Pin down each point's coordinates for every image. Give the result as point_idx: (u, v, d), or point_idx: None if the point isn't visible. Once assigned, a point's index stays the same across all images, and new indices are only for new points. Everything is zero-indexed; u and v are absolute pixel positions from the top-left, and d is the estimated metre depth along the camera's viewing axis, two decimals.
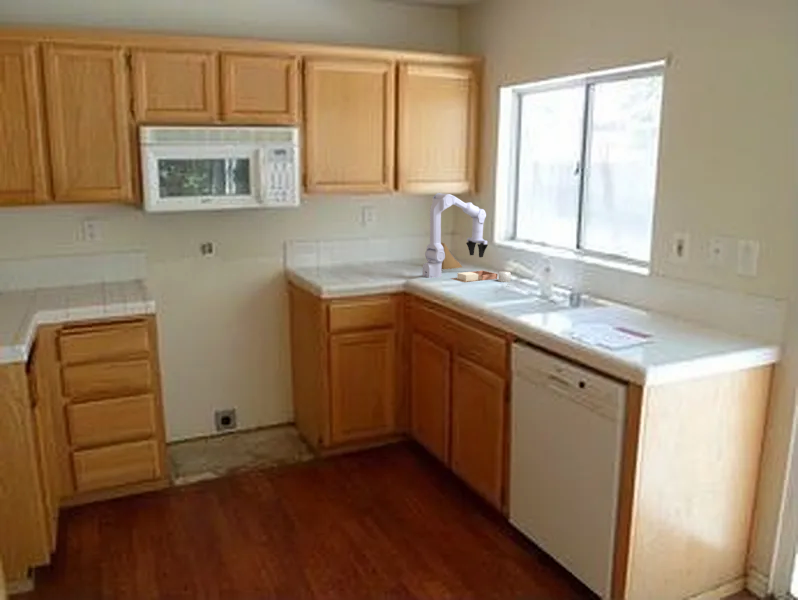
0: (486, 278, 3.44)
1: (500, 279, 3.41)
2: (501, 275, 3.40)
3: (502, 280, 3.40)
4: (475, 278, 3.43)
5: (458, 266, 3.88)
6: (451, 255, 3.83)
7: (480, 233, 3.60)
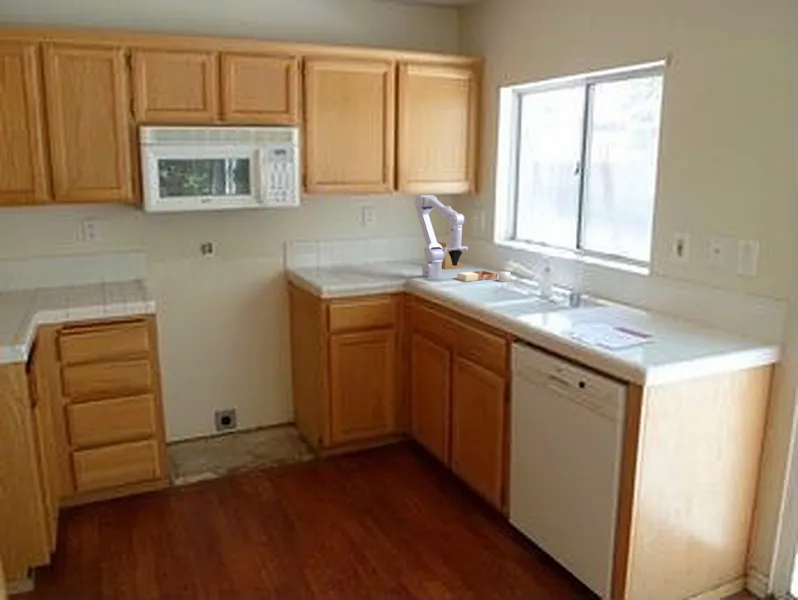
0: (486, 278, 3.44)
1: (500, 279, 3.41)
2: (501, 275, 3.40)
3: (502, 280, 3.40)
4: (475, 278, 3.43)
5: (459, 266, 3.88)
6: None
7: (450, 240, 3.34)
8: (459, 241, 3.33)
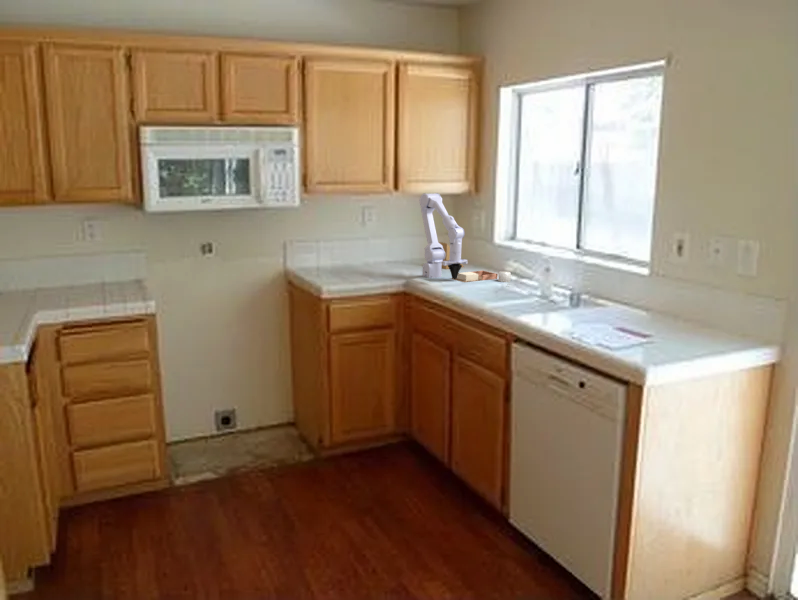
0: (486, 278, 3.44)
1: (500, 279, 3.41)
2: (501, 275, 3.40)
3: (502, 280, 3.40)
4: (475, 278, 3.43)
5: None
6: None
7: (450, 254, 3.36)
8: (459, 255, 3.35)
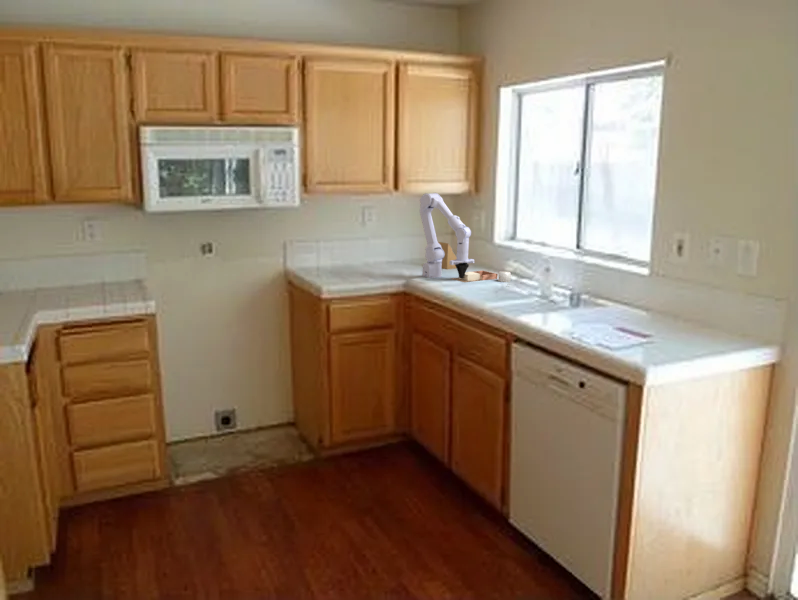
0: (486, 278, 3.44)
1: (500, 279, 3.41)
2: (501, 275, 3.40)
3: (502, 280, 3.40)
4: (476, 278, 3.43)
5: None
6: (454, 255, 3.84)
7: (457, 253, 3.38)
8: (466, 254, 3.37)
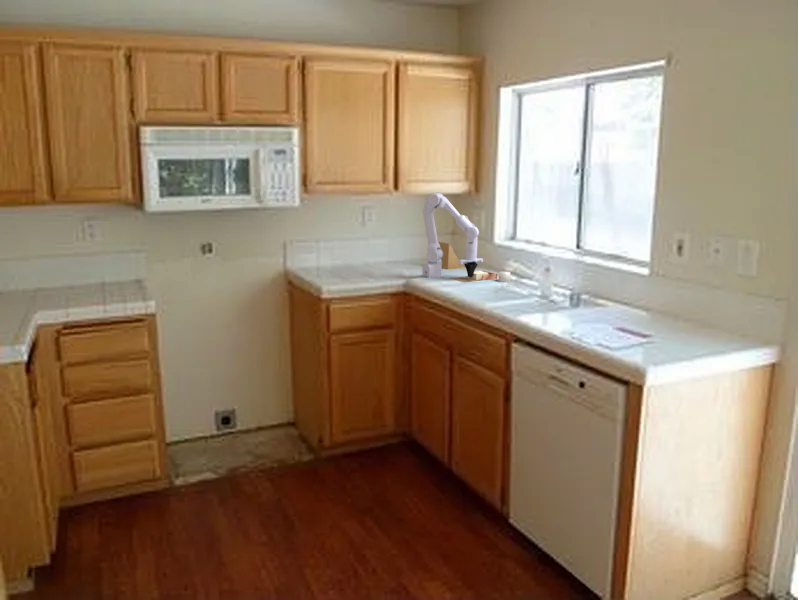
0: (486, 278, 3.44)
1: (500, 279, 3.41)
2: (501, 275, 3.40)
3: (502, 280, 3.40)
4: None
5: (461, 266, 3.89)
6: (455, 255, 3.84)
7: (466, 252, 3.41)
8: (475, 253, 3.40)
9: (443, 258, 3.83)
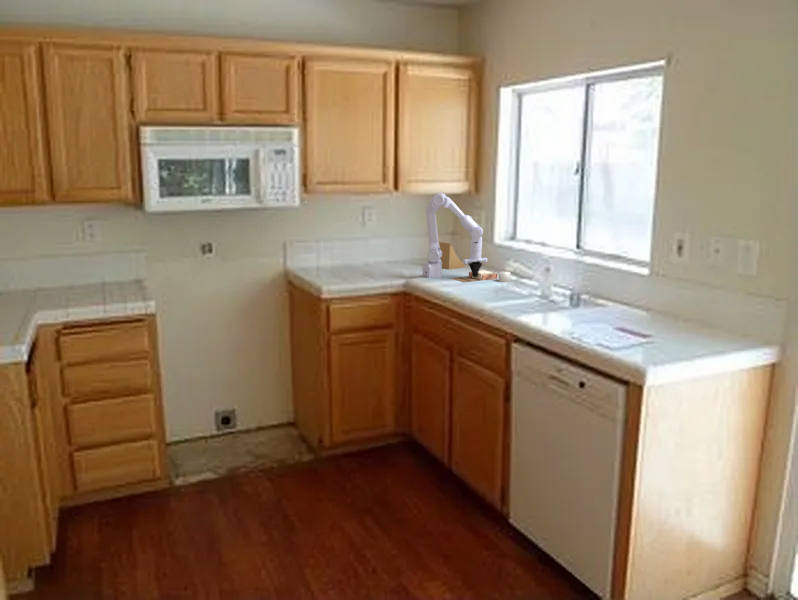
0: (486, 278, 3.44)
1: (500, 279, 3.41)
2: (501, 275, 3.40)
3: (502, 280, 3.40)
4: None
5: (462, 266, 3.89)
6: (456, 255, 3.84)
7: (471, 252, 3.43)
8: (479, 253, 3.42)
9: (444, 258, 3.83)
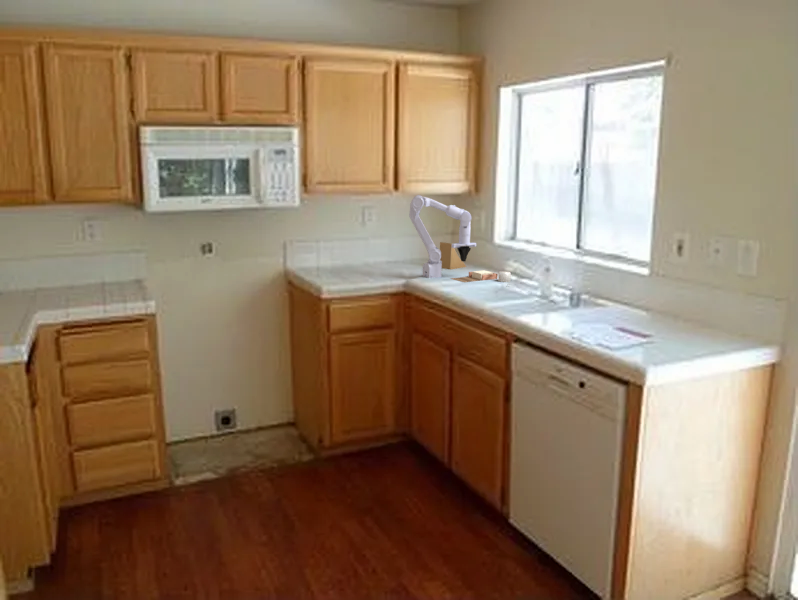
0: (486, 278, 3.44)
1: (500, 279, 3.41)
2: (501, 275, 3.40)
3: (502, 280, 3.40)
4: None
5: (462, 266, 3.89)
6: (457, 255, 3.84)
7: (459, 236, 3.44)
8: (468, 237, 3.44)
9: (445, 258, 3.83)
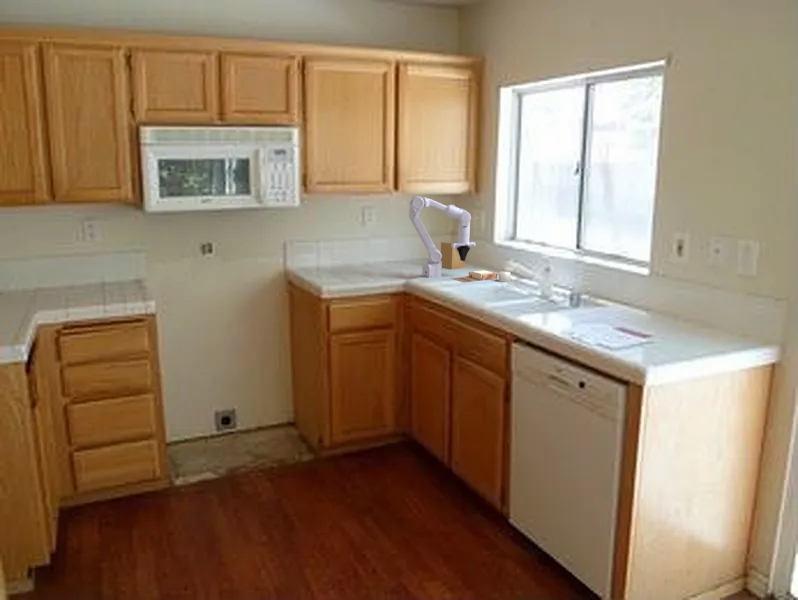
0: (486, 278, 3.44)
1: (500, 279, 3.41)
2: (501, 275, 3.40)
3: (502, 280, 3.40)
4: None
5: (463, 266, 3.90)
6: (458, 255, 3.84)
7: (459, 236, 3.46)
8: (467, 237, 3.45)
9: (446, 258, 3.83)
